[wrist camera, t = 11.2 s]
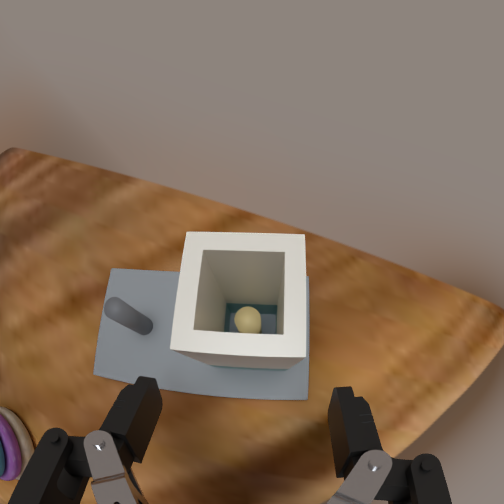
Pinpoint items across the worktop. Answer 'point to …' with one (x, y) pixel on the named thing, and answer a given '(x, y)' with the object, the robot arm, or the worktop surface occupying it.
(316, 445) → the worktop surface
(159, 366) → the pin board
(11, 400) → the worktop surface
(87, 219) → the worktop surface
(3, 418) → the stacking toy
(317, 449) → the worktop surface
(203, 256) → the sleeve
